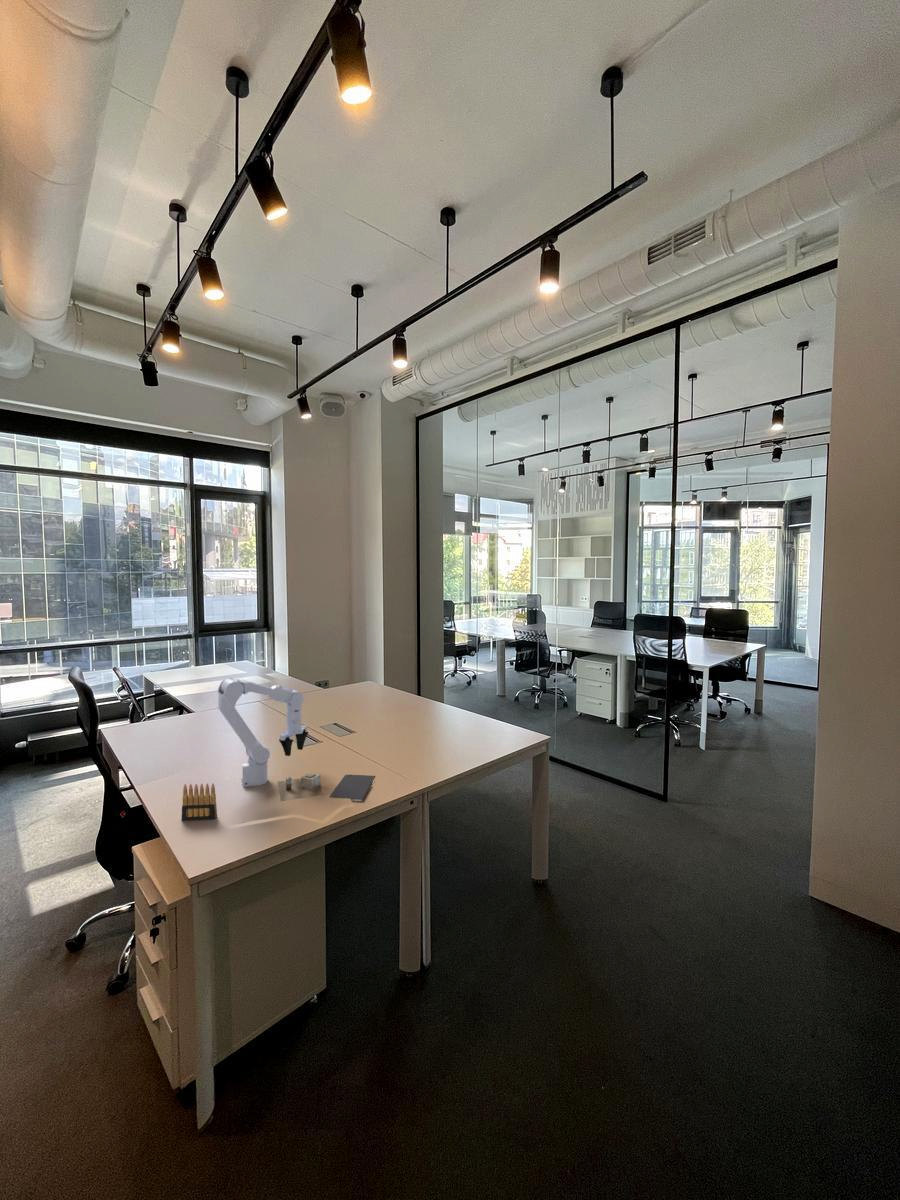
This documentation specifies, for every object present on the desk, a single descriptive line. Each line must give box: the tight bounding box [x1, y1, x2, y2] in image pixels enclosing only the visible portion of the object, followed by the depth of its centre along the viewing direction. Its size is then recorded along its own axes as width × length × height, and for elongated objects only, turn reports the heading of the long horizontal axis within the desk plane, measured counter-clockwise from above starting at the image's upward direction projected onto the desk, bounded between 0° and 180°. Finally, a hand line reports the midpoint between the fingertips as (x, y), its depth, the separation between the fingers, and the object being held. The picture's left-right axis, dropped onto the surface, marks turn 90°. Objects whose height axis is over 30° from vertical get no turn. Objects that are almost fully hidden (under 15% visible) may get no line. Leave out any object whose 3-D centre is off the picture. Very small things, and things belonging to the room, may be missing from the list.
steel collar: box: [300, 772, 321, 790], centre depth 186 cm, size 5×5×4 cm
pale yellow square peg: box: [306, 773, 316, 778], centre depth 186 cm, size 2×2×4 cm
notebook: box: [328, 774, 376, 802], centre depth 187 cm, size 13×2×21 cm
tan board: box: [277, 777, 324, 802], centre depth 185 cm, size 15×18×1 cm
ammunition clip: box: [180, 782, 218, 822], centre depth 162 cm, size 11×2×12 cm, turn 97°
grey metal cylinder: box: [285, 776, 293, 791], centre depth 183 cm, size 2×2×4 cm
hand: (293, 752), depth 199 cm, fingers open, 7 cm apart
